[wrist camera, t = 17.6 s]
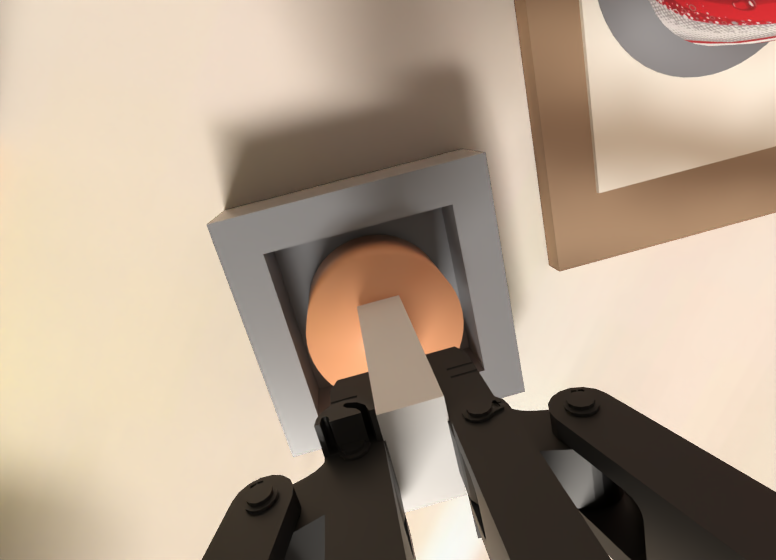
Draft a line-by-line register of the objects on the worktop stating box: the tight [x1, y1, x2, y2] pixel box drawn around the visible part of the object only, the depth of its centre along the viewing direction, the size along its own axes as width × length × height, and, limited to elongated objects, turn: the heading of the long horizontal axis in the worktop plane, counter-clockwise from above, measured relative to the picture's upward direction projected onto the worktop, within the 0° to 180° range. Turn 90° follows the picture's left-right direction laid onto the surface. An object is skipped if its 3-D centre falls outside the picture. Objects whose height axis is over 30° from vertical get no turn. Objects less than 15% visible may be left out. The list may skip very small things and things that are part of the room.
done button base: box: [207, 149, 525, 457], centre depth 20 cm, size 10×10×3 cm
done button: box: [306, 235, 464, 386], centre depth 18 cm, size 6×6×3 cm
